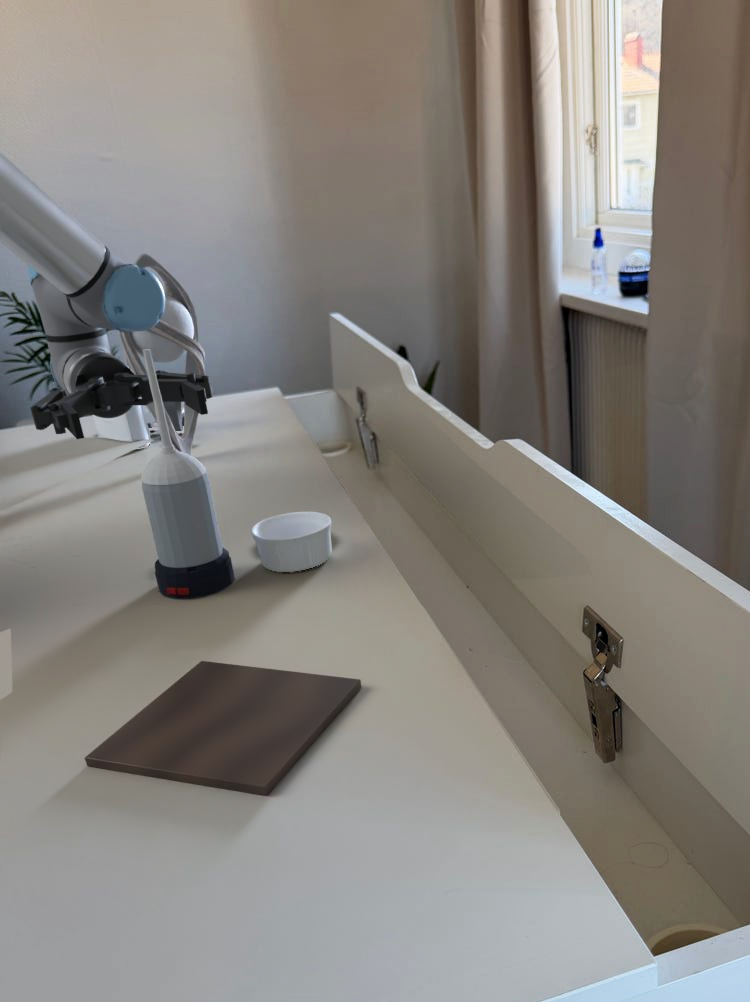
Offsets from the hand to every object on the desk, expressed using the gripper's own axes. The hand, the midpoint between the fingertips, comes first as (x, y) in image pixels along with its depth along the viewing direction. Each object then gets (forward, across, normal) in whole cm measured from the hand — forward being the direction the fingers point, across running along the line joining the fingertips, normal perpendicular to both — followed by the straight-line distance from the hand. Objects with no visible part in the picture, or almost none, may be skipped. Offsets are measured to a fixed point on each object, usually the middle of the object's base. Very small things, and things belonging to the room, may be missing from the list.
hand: (141, 414), depth 107 cm
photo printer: (-56, -7, -17) cm, 59 cm away
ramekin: (+11, -11, -17) cm, 23 cm away
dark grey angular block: (-60, -16, -17) cm, 64 cm away
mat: (+41, +6, -17) cm, 45 cm away
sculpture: (-40, -13, -17) cm, 46 cm away
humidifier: (+10, 0, -17) cm, 20 cm away
